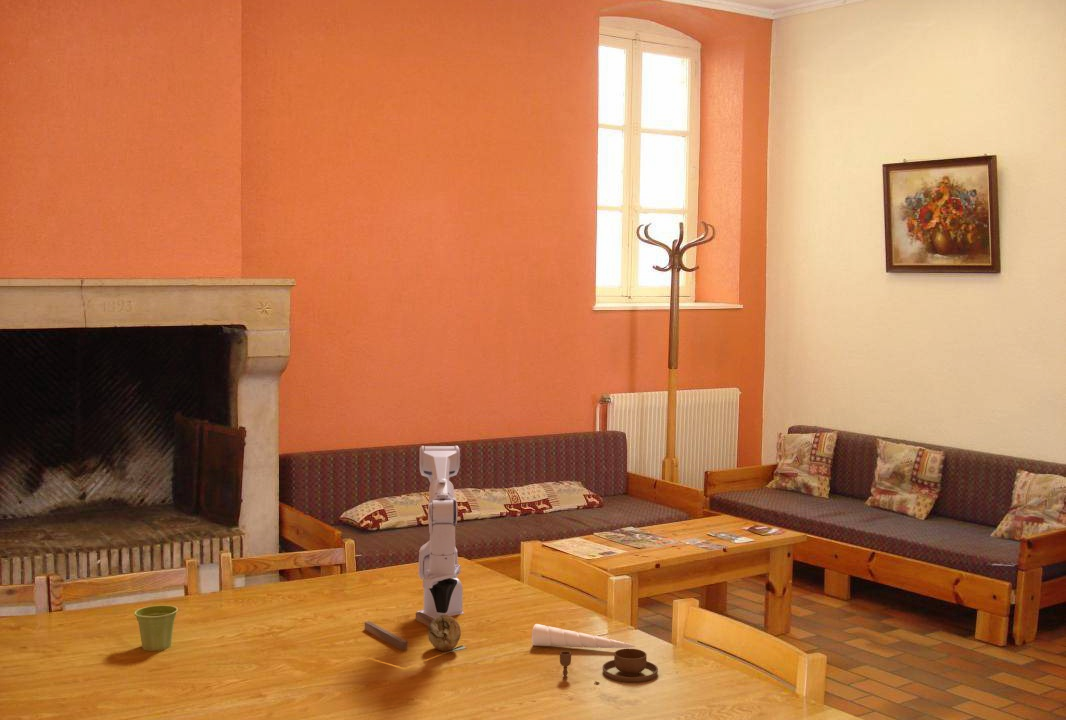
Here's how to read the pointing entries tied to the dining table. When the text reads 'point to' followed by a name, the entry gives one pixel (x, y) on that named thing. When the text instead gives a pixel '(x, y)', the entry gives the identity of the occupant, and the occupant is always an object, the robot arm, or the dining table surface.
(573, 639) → the unicorn horn
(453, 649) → the panel
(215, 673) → the dining table surface
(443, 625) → the onion
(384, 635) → the cart frame
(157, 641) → the plant pot
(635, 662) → the place setting
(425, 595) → the robot arm
